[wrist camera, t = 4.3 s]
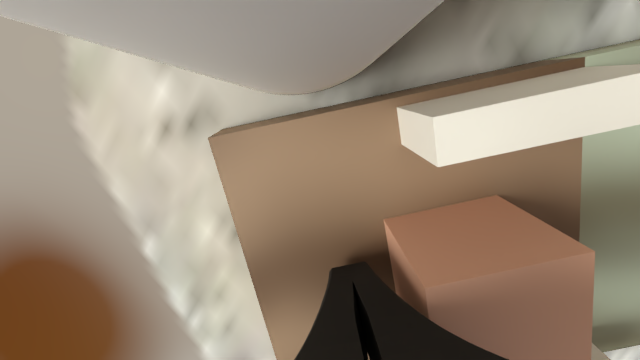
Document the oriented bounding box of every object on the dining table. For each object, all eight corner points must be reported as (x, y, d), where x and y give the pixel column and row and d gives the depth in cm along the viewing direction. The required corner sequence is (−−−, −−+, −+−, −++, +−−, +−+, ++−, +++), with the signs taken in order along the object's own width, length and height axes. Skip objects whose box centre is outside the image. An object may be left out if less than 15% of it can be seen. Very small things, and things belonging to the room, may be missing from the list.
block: (502, 291, 13) (589, 382, 9) (399, 313, 13) (442, 414, 9) (496, 194, 11) (595, 251, 8) (383, 219, 11) (424, 288, 8)
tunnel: (575, 352, 14) (648, 424, 11) (433, 381, 14) (468, 461, 11) (584, 67, 10) (694, 61, 7) (396, 107, 10) (432, 117, 7)
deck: (782, 274, 15) (850, 301, 14) (295, 374, 16) (294, 415, 14) (851, -7, 12) (956, -24, 10) (222, 129, 12) (207, 137, 10)
